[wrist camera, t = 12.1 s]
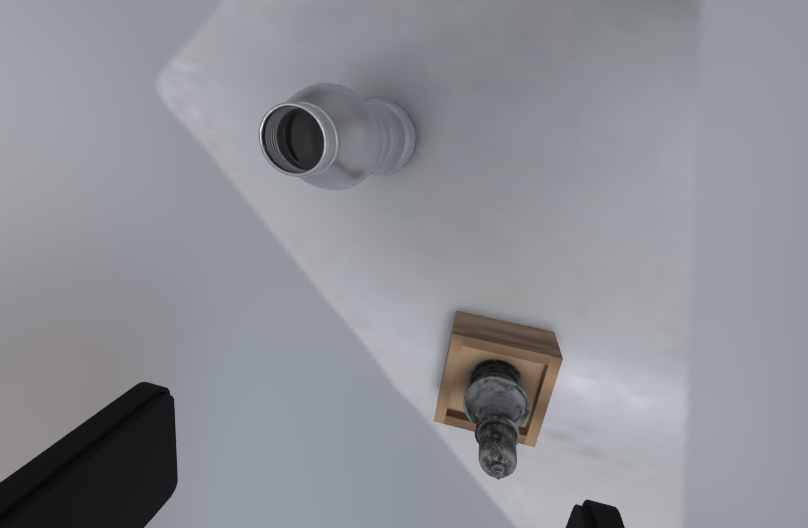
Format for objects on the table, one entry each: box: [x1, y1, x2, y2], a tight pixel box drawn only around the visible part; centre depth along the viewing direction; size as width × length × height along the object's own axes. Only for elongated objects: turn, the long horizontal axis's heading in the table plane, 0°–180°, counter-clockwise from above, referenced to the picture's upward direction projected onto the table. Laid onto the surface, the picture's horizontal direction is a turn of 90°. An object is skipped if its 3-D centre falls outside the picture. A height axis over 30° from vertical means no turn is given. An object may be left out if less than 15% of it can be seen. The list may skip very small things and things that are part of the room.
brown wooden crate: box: [434, 311, 563, 447], centre depth 42 cm, size 10×10×5 cm
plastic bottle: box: [259, 83, 415, 190], centre depth 30 cm, size 6×7×20 cm
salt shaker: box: [463, 359, 530, 480], centre depth 35 cm, size 6×6×12 cm
